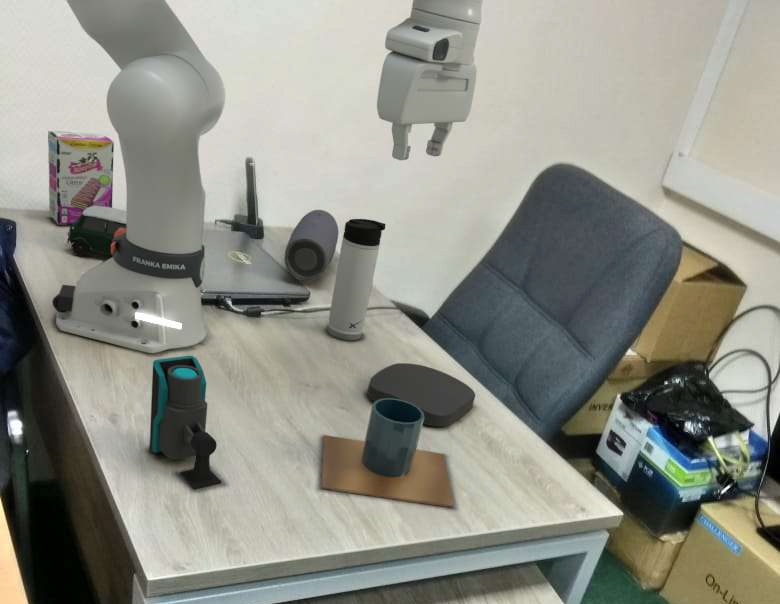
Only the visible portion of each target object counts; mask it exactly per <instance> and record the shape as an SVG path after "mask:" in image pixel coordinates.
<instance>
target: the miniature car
mask: <svg viewBox="0 0 780 604" xmlns="http://www.w3.org/2000/svg"><path fill="white" fill-rule="evenodd" d="M119 228H125V229H126V210H123V209H119V208H115V207H112V208H110V207H102V206H91V207H88V208H85V209H84V210H83V211H82V214H81V215H80V216H79V218H78V219H77V220H76V221H75V222H74V223H73V224H72V225H70V228H69V230H68V232H67V239H66V244H71V249H72V251H73V253H74V254H75V255H77V256H79V257H82V256H87V255H88V254H89V253H90V251H92V252H95V253H101V254H105V255H110V256H112V253H111V244H112V240H113V238H114V234H115V232H116V231H117V230H118V229H119Z"/></svg>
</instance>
